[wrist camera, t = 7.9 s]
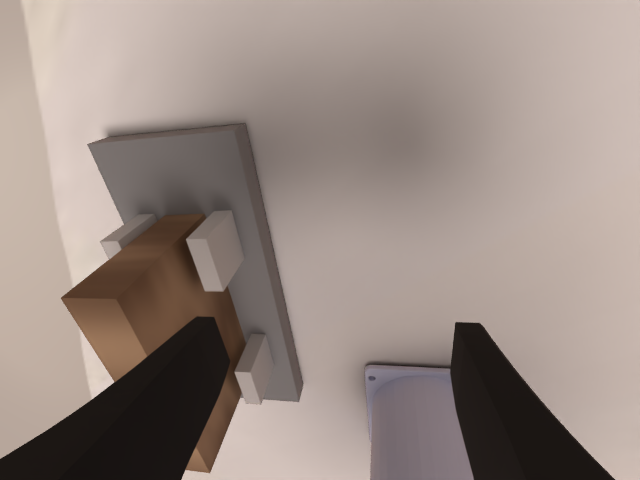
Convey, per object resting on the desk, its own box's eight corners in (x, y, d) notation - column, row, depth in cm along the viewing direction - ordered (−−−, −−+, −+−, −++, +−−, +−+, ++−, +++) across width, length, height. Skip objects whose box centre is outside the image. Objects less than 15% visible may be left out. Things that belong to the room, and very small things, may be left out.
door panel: (252, 365, 24) (210, 472, 18) (211, 363, 24) (157, 466, 18) (204, 213, 18) (116, 298, 12) (152, 215, 18) (43, 297, 13)
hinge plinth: (303, 384, 26) (289, 442, 23) (210, 378, 28) (183, 432, 24) (245, 123, 17) (204, 147, 13) (107, 137, 18) (34, 162, 14)
